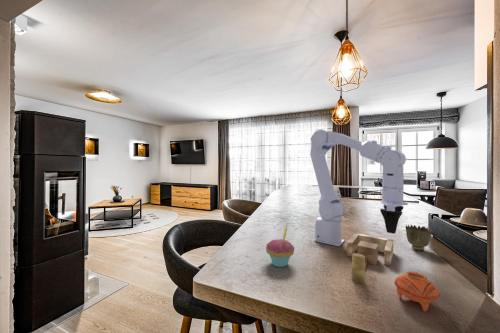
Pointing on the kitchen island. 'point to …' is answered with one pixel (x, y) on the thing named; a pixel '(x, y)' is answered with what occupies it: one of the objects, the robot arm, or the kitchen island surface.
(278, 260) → the cupcake
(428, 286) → the orange ridged rounded piece
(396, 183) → the robot arm
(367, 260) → the tab block
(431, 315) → the kitchen island surface
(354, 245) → the beige blocky multi-part fixture
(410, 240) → the cup
